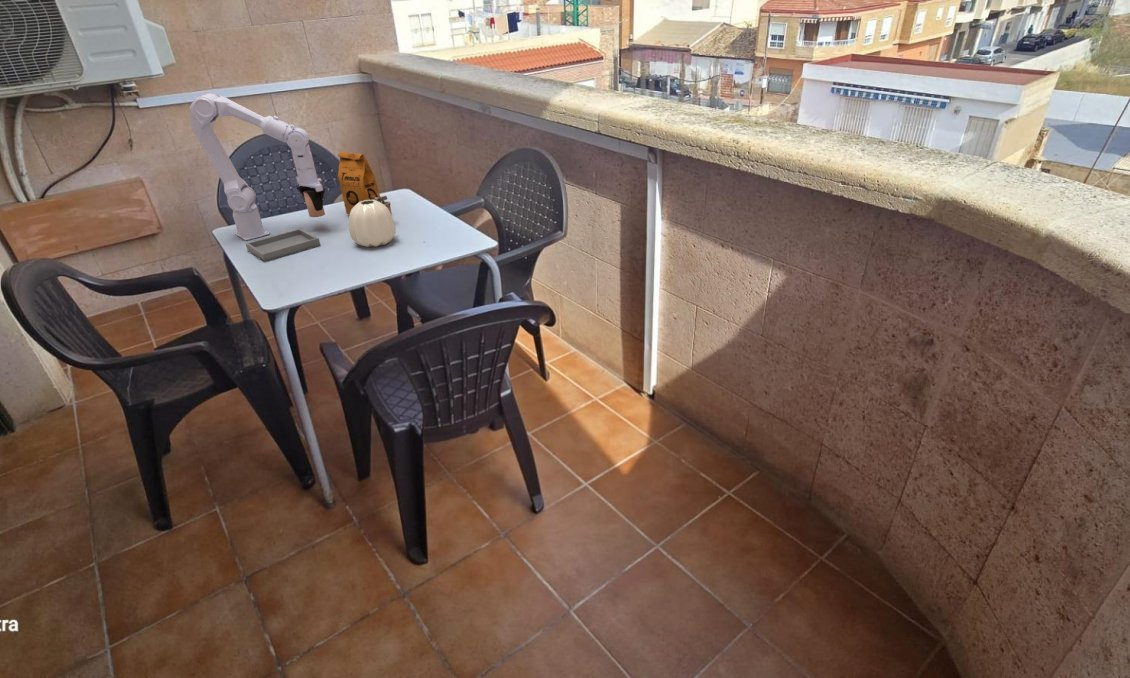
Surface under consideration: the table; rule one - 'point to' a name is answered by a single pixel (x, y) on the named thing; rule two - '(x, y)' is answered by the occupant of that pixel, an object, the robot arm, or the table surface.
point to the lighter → (384, 202)
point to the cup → (312, 207)
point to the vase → (371, 224)
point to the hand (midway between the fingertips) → (315, 208)
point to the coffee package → (356, 180)
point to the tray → (282, 244)
